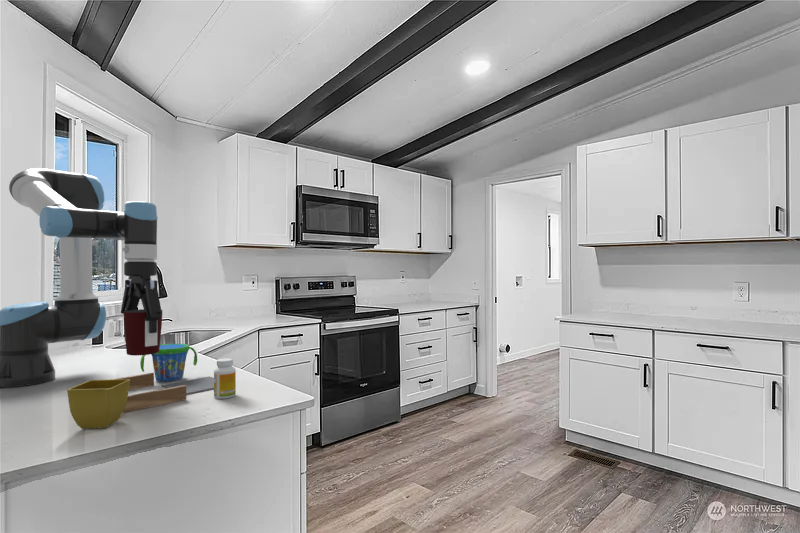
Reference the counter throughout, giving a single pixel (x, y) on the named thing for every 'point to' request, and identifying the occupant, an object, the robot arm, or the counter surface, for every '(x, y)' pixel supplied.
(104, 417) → the flower pot
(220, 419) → the counter surface
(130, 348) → the mug
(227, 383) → the supplement bottle
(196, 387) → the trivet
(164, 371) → the snack cup
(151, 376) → the oak caddy
